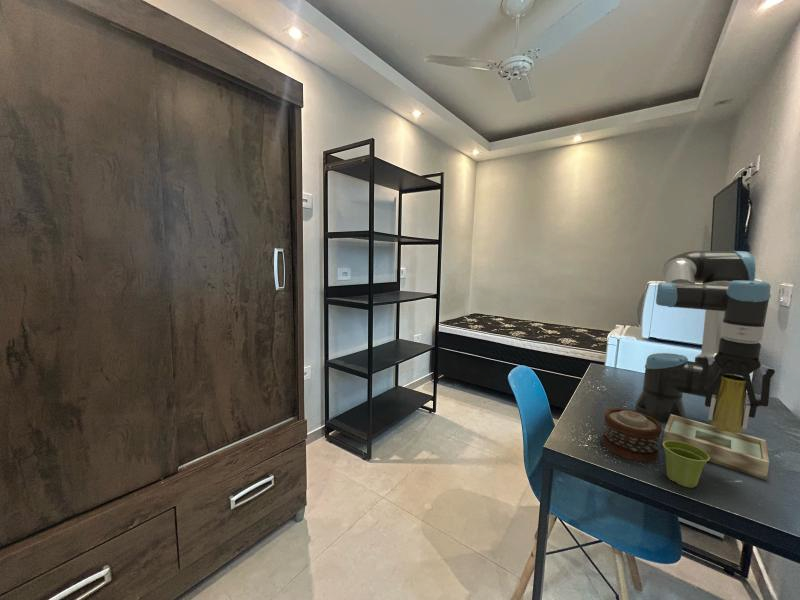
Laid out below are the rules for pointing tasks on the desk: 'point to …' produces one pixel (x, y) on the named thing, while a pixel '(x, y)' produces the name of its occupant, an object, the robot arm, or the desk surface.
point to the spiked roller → (632, 434)
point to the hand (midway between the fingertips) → (726, 422)
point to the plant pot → (684, 462)
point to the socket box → (721, 445)
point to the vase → (730, 404)
